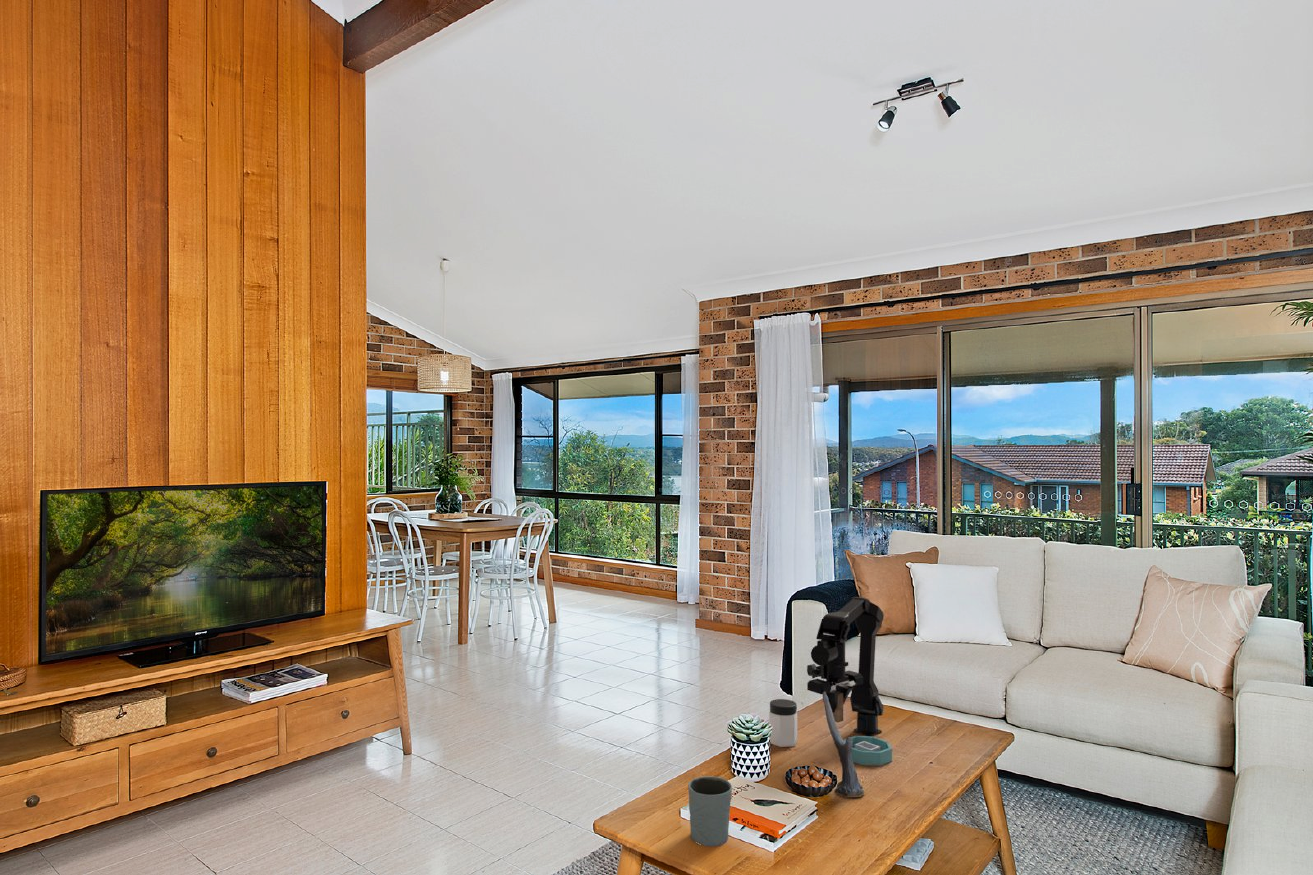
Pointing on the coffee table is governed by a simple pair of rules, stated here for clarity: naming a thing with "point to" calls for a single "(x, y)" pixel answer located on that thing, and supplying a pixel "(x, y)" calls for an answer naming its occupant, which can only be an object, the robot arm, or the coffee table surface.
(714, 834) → the grey cup
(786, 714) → the jar
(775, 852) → the coffee table surface
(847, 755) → the antler
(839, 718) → the brown wooden block
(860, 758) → the dish
